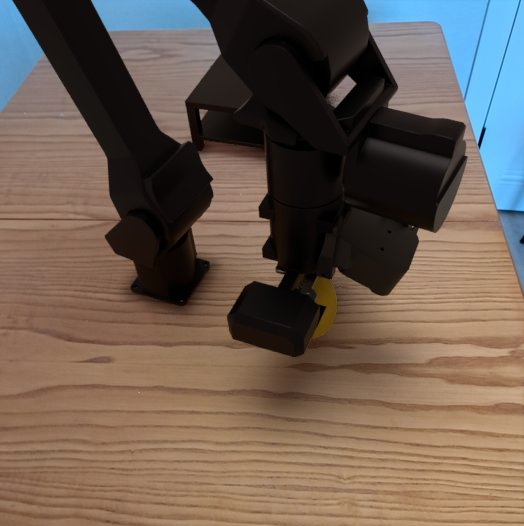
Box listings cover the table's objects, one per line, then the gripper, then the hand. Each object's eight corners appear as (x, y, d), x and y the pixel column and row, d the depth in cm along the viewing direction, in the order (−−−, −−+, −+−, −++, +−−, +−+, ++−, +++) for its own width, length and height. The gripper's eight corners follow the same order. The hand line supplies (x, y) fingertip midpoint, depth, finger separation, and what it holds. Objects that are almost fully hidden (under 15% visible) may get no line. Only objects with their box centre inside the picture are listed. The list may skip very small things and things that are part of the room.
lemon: (268, 324, 56) (263, 265, 50) (318, 304, 58) (319, 244, 51) (293, 364, 53) (292, 307, 47) (346, 342, 54) (351, 284, 48)
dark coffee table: (296, 166, 71) (295, 102, 65) (193, 150, 75) (182, 88, 68) (329, 98, 80) (331, 36, 74) (236, 87, 84) (230, 27, 77)
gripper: (378, 302, 34) (359, 430, 47) (446, 132, 44) (416, 274, 57) (212, 259, 37) (235, 389, 50) (310, 108, 47) (309, 248, 60)
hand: (306, 321), depth 54 cm, fingers closed on lemon, 5 cm apart
